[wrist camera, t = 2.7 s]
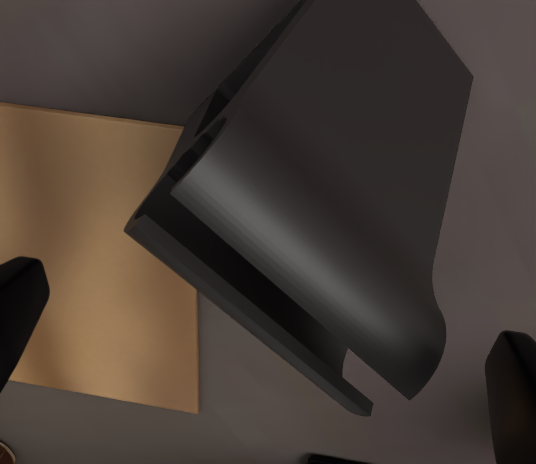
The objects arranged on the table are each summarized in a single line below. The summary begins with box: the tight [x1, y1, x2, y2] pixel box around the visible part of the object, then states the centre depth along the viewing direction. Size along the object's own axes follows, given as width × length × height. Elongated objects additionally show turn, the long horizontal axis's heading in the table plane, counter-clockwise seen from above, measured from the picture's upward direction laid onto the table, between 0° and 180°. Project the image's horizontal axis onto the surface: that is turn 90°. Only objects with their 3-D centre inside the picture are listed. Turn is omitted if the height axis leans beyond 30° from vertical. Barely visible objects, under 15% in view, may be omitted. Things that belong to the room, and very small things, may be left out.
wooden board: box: [0, 102, 199, 414], centre depth 26 cm, size 18×20×1 cm
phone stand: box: [124, 0, 473, 416], centre depth 13 cm, size 9×6×12 cm, turn 134°
